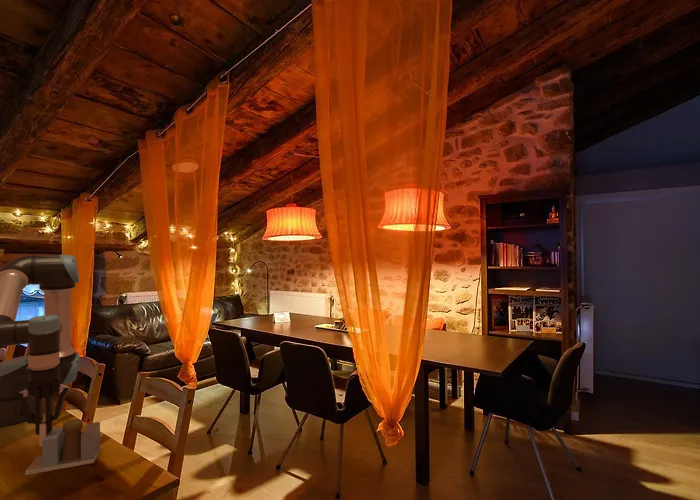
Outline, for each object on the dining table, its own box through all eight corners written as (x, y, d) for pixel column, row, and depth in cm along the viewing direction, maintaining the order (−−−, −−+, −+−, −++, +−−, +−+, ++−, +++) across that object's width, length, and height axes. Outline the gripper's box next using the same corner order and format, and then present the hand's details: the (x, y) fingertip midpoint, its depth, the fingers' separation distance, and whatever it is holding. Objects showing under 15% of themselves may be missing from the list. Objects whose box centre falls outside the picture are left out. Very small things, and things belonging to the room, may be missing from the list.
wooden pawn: (88, 453, 121) (88, 418, 121) (66, 463, 115) (66, 426, 115) (78, 449, 124) (78, 415, 124) (56, 458, 118) (56, 422, 118)
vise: (36, 459, 119) (36, 430, 120) (100, 448, 126) (100, 421, 126) (25, 475, 111) (25, 443, 111) (94, 462, 118) (94, 432, 118)
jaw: (51, 454, 121) (51, 428, 121) (64, 451, 122) (64, 426, 122) (42, 467, 113) (42, 440, 113) (56, 464, 115) (56, 438, 115)
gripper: (73, 361, 123) (73, 434, 122) (22, 365, 118) (22, 442, 117) (66, 367, 116) (66, 445, 116) (12, 372, 111) (11, 454, 111)
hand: (44, 443), depth 117 cm, fingers closed
